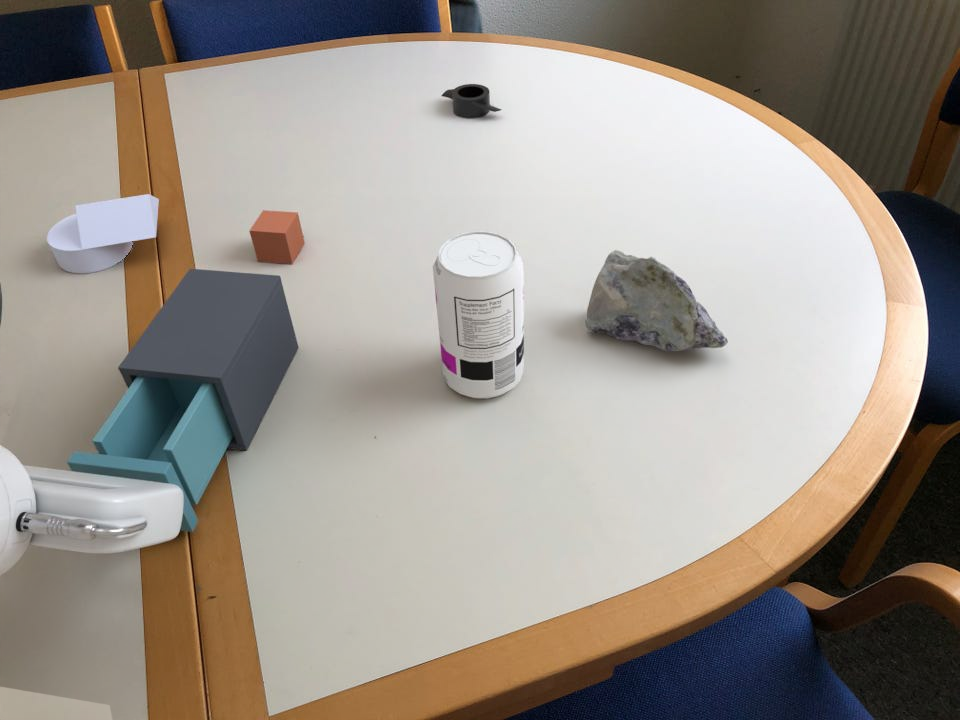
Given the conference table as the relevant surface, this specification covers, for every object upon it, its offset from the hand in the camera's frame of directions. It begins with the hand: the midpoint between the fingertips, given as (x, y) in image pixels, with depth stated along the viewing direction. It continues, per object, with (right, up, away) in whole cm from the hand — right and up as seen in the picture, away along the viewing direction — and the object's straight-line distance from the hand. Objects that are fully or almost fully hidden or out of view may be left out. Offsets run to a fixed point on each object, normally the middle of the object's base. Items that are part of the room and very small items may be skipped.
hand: (96, 485), depth 60 cm
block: (+5, +23, +38) cm, 44 cm away
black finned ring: (+28, +49, +65) cm, 86 cm away
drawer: (+2, -2, +10) cm, 11 cm away
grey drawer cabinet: (+4, +6, +20) cm, 21 cm away
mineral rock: (+47, +11, +24) cm, 54 cm away
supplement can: (+29, +8, +21) cm, 37 cm away
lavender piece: (-17, +23, +40) cm, 49 cm away
